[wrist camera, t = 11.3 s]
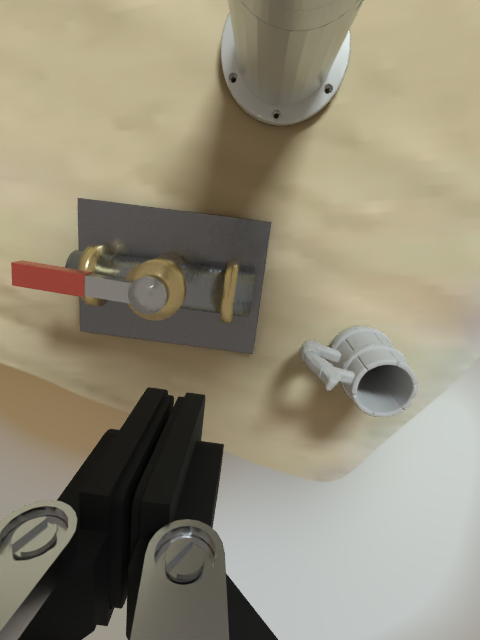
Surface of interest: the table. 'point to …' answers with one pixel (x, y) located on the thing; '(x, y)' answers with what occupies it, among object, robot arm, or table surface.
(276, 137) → the table surface
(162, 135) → the table surface
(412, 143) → the table surface
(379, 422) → the table surface
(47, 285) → the lever
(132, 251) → the valve body
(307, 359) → the mug
